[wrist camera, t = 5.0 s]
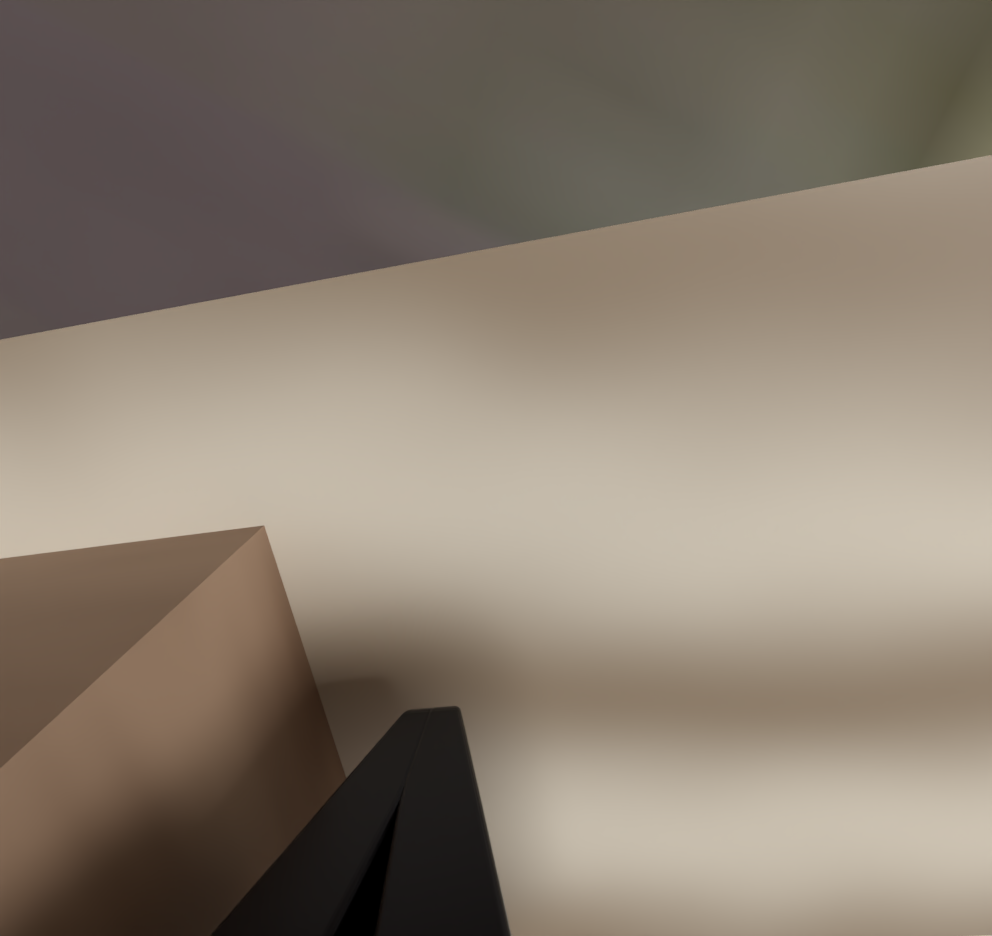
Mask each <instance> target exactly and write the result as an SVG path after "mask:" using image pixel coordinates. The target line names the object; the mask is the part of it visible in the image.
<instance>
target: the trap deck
mask: <svg viewBox="0 0 992 936" xmlns="http://www.w3.org/2000/svg"><path fill="white" fill-rule="evenodd" d="M263 525H264V526H265V530H266V533H267V536H268V539H269V542H270V545H271V548H272V551H273V554H274V557H275V560H276V563H277V566H278V570H279V573H280V576H281V579H282V582H283V585H284V588H285V591H286V594H287V597H288V600H289V603H290V606H291V610H292V613H293V616H294V619H295V622H296V625H297V628H298V631H299V634H300V637H301V640H302V643H303V646H304V650H305V653H306V656H307V659H308V662H309V665H310V668H311V671H312V674H313V677H314V680H315V683H316V686H317V689H318V693H319V696H320V699H321V702H322V705H323V708H324V711H325V714H326V717H327V720H328V723H329V726H330V729H331V733H332V736H333V739H334V742H335V745H336V748H337V751H338V754H339V757H340V760H341V763H342V766H343V769H344V773H345V776H346V778H347V777H348V776H349V775H350V773H351V772H352V771H353V770H354V769H355V768H356V767H357V765H358V764H359V763H360V762H361V761H362V760H363V758H364V757H365V756H366V755H367V754H368V753H369V752H370V750H371V749H372V748H373V747H374V746H375V745H376V743H377V742H378V741H379V740H380V739H381V738H382V737H383V735H384V734H385V733H386V732H387V731H388V730H389V728H390V727H391V726H392V725H393V724H394V723H395V721H396V720H397V719H398V718H399V717H400V716H401V715H402V714H403V713H404V712H405V711H407V710H410V709H422V708H435V707H447V706H458V707H459V708H460V709H461V713H462V717H463V721H464V726H465V730H466V735H467V739H468V744H469V748H470V752H471V757H472V761H473V766H474V770H475V775H476V779H477V783H478V788H479V792H480V797H481V801H482V806H483V810H484V815H485V819H486V824H487V828H488V832H489V837H490V841H491V846H492V850H493V855H494V859H495V864H496V868H497V872H498V877H499V881H500V886H501V890H502V895H503V899H504V904H505V908H506V912H507V917H508V921H509V926H510V930H511V935H512V936H992V155H990V156H984V157H979V158H974V159H968V160H963V161H958V162H952V163H947V164H941V165H936V166H931V167H925V168H920V169H915V170H909V171H904V172H899V173H893V174H888V175H882V176H877V177H872V178H866V179H861V180H856V181H850V182H845V183H839V184H834V185H829V186H823V187H818V188H813V189H807V190H802V191H797V192H791V193H786V194H780V195H775V196H770V197H764V198H759V199H754V200H748V201H743V202H737V203H732V204H727V205H721V206H716V207H711V208H705V209H700V210H695V211H689V212H684V213H678V214H673V215H668V216H662V217H657V218H652V219H646V220H641V221H635V222H630V223H625V224H619V225H614V226H609V227H603V228H598V229H593V230H587V231H582V232H576V233H571V234H566V235H560V236H555V237H550V238H544V239H539V240H533V241H528V242H523V243H517V244H512V245H507V246H501V247H496V248H491V249H485V250H480V251H474V252H469V253H464V254H458V255H453V256H448V257H442V258H437V259H432V260H426V261H421V262H415V263H410V264H405V265H399V266H394V267H389V268H383V269H378V270H372V271H367V272H362V273H356V274H351V275H346V276H340V277H335V278H330V279H324V280H319V281H313V282H308V283H303V284H297V285H292V286H287V287H281V288H276V289H270V290H265V291H260V292H254V293H249V294H244V295H238V296H233V297H228V298H222V299H217V300H211V301H206V302H201V303H195V304H190V305H185V306H179V307H174V308H168V309H163V310H158V311H152V312H147V313H142V314H136V315H131V316H126V317H120V318H115V319H109V320H104V321H99V322H93V323H88V324H83V325H77V326H72V327H66V328H61V329H56V330H50V331H45V332H40V333H34V334H29V335H24V336H18V337H13V338H7V339H2V340H0V559H2V558H10V557H18V556H26V555H33V554H41V553H49V552H57V551H65V550H73V549H81V548H89V547H97V546H105V545H113V544H121V543H129V542H137V541H144V540H152V539H160V538H168V537H176V536H184V535H192V534H200V533H208V532H216V531H224V530H232V529H240V528H248V527H256V526H263Z"/></svg>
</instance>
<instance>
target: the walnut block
mask: <svg viewBox="0 0 992 936" xmlns="http://www.w3.org/2000/svg"><path fill="white" fill-rule="evenodd" d="M345 779H346V776H345V773H344V769H343V766H342V763H341V760H340V757H339V754H338V751H337V748H336V745H335V742H334V739H333V736H332V733H331V729H330V726H329V723H328V720H327V717H326V714H325V711H324V708H323V705H322V702H321V699H320V696H319V693H318V689H317V686H316V683H315V680H314V677H313V674H312V671H311V668H310V665H309V662H308V659H307V656H306V653H305V650H304V646H303V643H302V640H301V637H300V634H299V631H298V628H297V625H296V622H295V619H294V616H293V613H292V610H291V606H290V603H289V600H288V597H287V594H286V591H285V588H284V585H283V582H282V579H281V576H280V573H279V570H278V566H277V563H276V560H275V557H274V554H273V551H272V548H271V545H270V542H269V539H268V536H267V533H266V530H265V526H264V525H263V526H256V527H248V528H240V529H232V530H224V531H216V532H208V533H200V534H192V535H184V536H176V537H168V538H160V539H152V540H144V541H137V542H129V543H121V544H113V545H105V546H97V547H89V548H81V549H73V550H65V551H57V552H49V553H41V554H33V555H26V556H18V557H10V558H2V559H0V936H210V935H211V934H212V933H213V932H214V931H215V929H216V928H217V927H218V926H219V925H220V924H221V922H222V921H223V920H224V919H225V918H226V917H227V916H228V914H229V913H230V912H231V911H232V910H233V909H234V907H235V906H236V905H237V904H238V903H239V902H240V901H241V899H242V898H243V897H244V896H245V895H246V894H247V892H248V891H249V890H250V889H251V888H252V887H253V886H254V884H255V883H256V882H257V881H258V880H259V879H260V877H261V876H262V875H263V874H264V873H265V872H266V870H267V869H268V868H269V867H270V866H271V865H272V864H273V862H274V861H275V860H276V859H277V858H278V857H279V855H280V854H281V853H282V852H283V851H284V850H285V849H286V847H287V846H288V845H289V844H290V843H291V842H292V840H293V839H294V838H295V837H296V836H297V835H298V834H299V832H300V831H301V830H302V829H303V828H304V827H305V825H306V824H307V823H308V822H309V821H310V820H311V819H312V817H313V816H314V815H315V814H316V813H317V812H318V810H319V809H320V808H321V807H322V806H323V805H324V803H325V802H326V801H327V800H328V799H329V798H330V797H331V795H332V794H333V793H334V792H335V791H336V790H337V788H338V787H339V786H340V785H341V784H342V783H343V782H344V780H345Z"/></svg>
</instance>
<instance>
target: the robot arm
mask: <svg viewBox="0 0 992 936" xmlns="http://www.w3.org/2000/svg"><path fill="white" fill-rule="evenodd" d="M210 936H512V935H511V930H510V926H509V921H508V917H507V912H506V908H505V904H504V899H503V895H502V890H501V886H500V881H499V877H498V872H497V868H496V864H495V859H494V855H493V850H492V846H491V841H490V837H489V832H488V828H487V824H486V819H485V815H484V810H483V806H482V801H481V797H480V792H479V788H478V783H477V779H476V775H475V770H474V766H473V761H472V757H471V752H470V748H469V744H468V739H467V735H466V730H465V726H464V721H463V717H462V713H461V709H460V708H459V707H458V706H447V707H435V708H422V709H410V710H407V711H405V712H404V713H403V714H402V715H401V716H400V717H399V718H398V719H397V720H396V721H395V723H394V724H393V725H392V726H391V727H390V728H389V730H388V731H387V732H386V733H385V734H384V735H383V737H382V738H381V739H380V740H379V741H378V742H377V743H376V745H375V746H374V747H373V748H372V749H371V750H370V752H369V753H368V754H367V755H366V756H365V757H364V758H363V760H362V761H361V762H360V763H359V764H358V765H357V767H356V768H355V769H354V770H353V771H352V772H351V773H350V775H349V776H348V777H347V778H346V779H345V780H344V782H343V783H342V784H341V785H340V786H339V787H338V788H337V790H336V791H335V792H334V793H333V794H332V795H331V797H330V798H329V799H328V800H327V801H326V802H325V803H324V805H323V806H322V807H321V808H320V809H319V810H318V812H317V813H316V814H315V815H314V816H313V817H312V819H311V820H310V821H309V822H308V823H307V824H306V825H305V827H304V828H303V829H302V830H301V831H300V832H299V834H298V835H297V836H296V837H295V838H294V839H293V840H292V842H291V843H290V844H289V845H288V846H287V847H286V849H285V850H284V851H283V852H282V853H281V854H280V855H279V857H278V858H277V859H276V860H275V861H274V862H273V864H272V865H271V866H270V867H269V868H268V869H267V870H266V872H265V873H264V874H263V875H262V876H261V877H260V879H259V880H258V881H257V882H256V883H255V884H254V886H253V887H252V888H251V889H250V890H249V891H248V892H247V894H246V895H245V896H244V897H243V898H242V899H241V901H240V902H239V903H238V904H237V905H236V906H235V907H234V909H233V910H232V911H231V912H230V913H229V914H228V916H227V917H226V918H225V919H224V920H223V921H222V922H221V924H220V925H219V926H218V927H217V928H216V929H215V931H214V932H213V933H212V934H211V935H210Z"/></svg>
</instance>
